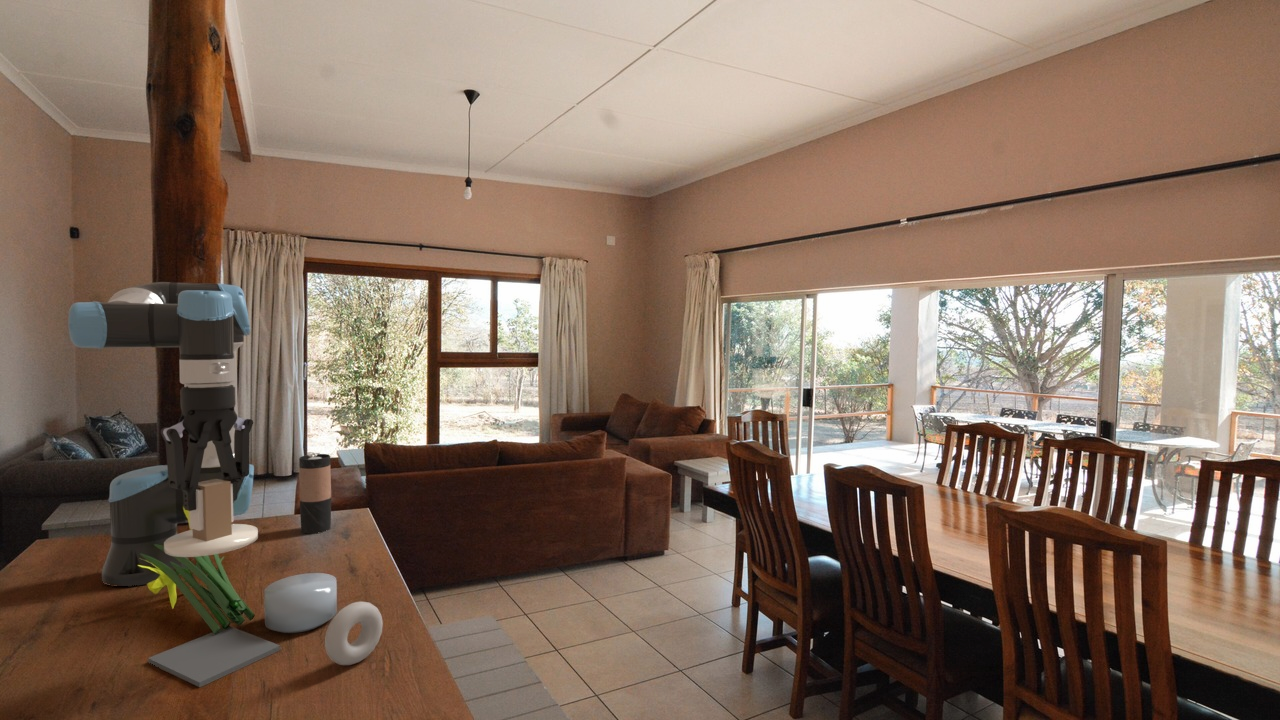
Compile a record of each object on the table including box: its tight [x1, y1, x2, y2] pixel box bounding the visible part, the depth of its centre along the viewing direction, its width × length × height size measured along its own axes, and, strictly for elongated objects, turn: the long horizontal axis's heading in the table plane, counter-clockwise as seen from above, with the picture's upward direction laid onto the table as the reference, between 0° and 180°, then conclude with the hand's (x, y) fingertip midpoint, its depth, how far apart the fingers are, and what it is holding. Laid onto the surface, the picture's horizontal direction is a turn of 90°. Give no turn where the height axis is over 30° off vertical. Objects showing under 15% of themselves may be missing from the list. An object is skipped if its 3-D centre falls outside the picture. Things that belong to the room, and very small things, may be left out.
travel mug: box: [298, 453, 332, 534], centre depth 174 cm, size 8×8×20 cm
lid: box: [164, 479, 259, 558], centre depth 107 cm, size 13×13×10 cm
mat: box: [147, 625, 281, 688], centre depth 109 cm, size 15×13×1 cm
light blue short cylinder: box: [263, 572, 338, 634], centre depth 121 cm, size 12×12×7 cm
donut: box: [324, 601, 384, 666], centre depth 107 cm, size 10×4×10 cm, turn 148°
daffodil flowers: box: [138, 505, 256, 635], centre depth 126 cm, size 17×15×35 cm
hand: (211, 524), depth 107 cm, fingers closed on lid, 4 cm apart
